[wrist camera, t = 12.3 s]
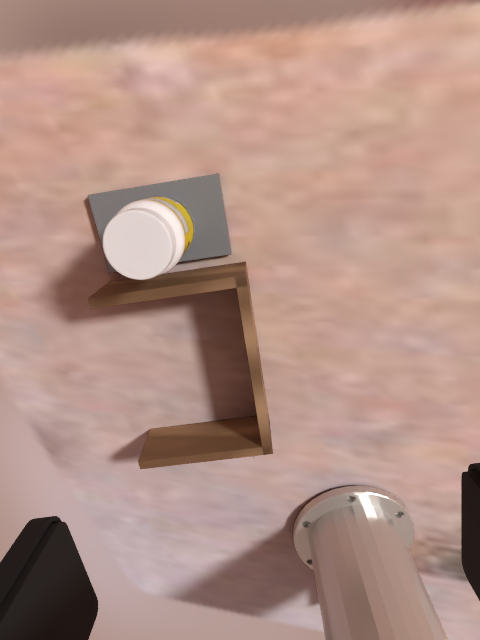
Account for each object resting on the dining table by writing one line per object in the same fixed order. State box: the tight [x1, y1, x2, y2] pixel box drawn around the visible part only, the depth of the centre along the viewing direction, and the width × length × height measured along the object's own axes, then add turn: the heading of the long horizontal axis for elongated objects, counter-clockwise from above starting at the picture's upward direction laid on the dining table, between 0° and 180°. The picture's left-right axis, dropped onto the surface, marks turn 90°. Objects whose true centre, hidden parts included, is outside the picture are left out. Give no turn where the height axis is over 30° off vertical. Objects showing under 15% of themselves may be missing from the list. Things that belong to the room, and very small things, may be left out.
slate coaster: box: [88, 174, 232, 272], centre depth 30 cm, size 6×10×1 cm, turn 99°
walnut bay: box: [88, 262, 273, 469], centre depth 32 cm, size 16×12×4 cm
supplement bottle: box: [103, 196, 195, 280], centre depth 25 cm, size 5×5×8 cm
